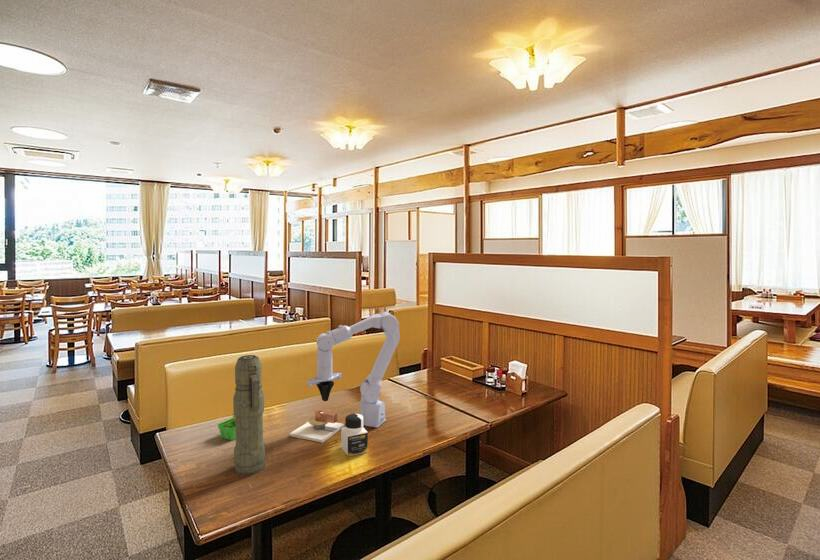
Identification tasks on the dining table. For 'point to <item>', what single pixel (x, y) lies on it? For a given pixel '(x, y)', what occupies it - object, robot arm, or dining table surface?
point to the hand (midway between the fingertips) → (325, 400)
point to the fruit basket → (228, 429)
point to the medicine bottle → (354, 435)
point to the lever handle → (323, 418)
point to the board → (317, 431)
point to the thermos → (248, 416)
